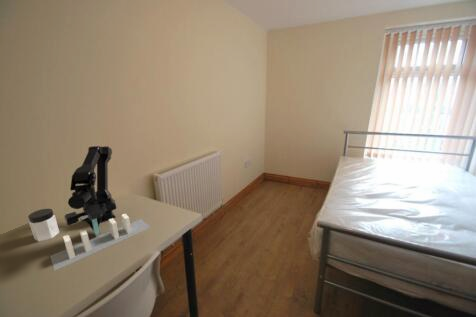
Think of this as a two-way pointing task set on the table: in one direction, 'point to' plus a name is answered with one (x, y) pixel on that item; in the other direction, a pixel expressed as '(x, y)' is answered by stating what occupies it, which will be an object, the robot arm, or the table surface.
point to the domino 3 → (95, 226)
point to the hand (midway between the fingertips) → (95, 227)
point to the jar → (43, 224)
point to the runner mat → (96, 244)
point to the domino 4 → (113, 228)
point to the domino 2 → (85, 240)
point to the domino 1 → (69, 246)
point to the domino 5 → (126, 223)
